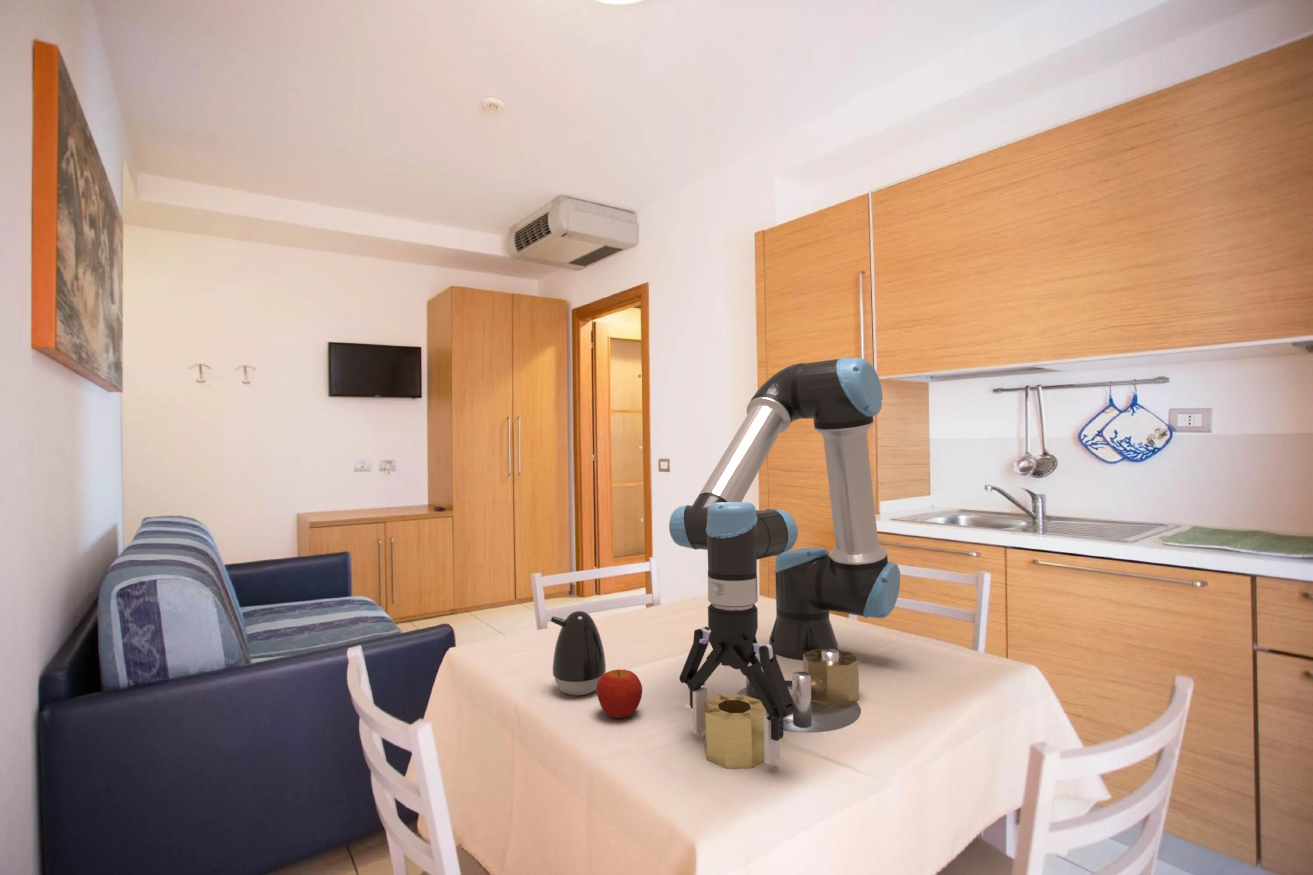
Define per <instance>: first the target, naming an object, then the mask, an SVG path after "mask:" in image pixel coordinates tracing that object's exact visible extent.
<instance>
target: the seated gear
mask: <svg viewBox="0 0 1313 875" xmlns="http://www.w3.org/2000/svg"><path fill="white" fill-rule="evenodd" d="M822 650H823V649H813V650H811V651H809V652H806V653H804V654H803V660H802V661H803V664H802V665H803V666H802V667H803V672H807V673H809V674H810V675H811V701H814V702H817V703H820V704H823V705H827V706H849V705H851V704H852V703H854V702H855V701H856V702H857V701H859V700H860V686H859V685H860V684H859V682H860V681H859V676H860V675H859V659H858V658H857V657H856V656H855V655H854V654H853V653H852V652H848V651H844V650H840V649H838V650H837V651H838V652H839V661H831V662H828V661H824V660H822ZM834 650H836V649H834Z"/></svg>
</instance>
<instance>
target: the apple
mask: <svg viewBox="0 0 1313 875" xmlns="http://www.w3.org/2000/svg"><path fill="white" fill-rule="evenodd" d="M640 680H641V679H639V677H638V675H636V673H634V672H633V671H631V670H629V669H628V670H627V669H620V668H619V669H614V670H610V671H607V672H606V671H605V673H604V674H603V675H602V677H601V678H600V679H599V681H598V683H597V687H596V688H597V689H596V696H597V700H598V702H599V705H600V707H601V709H602V710H603V713H604V714H606V715H607V716H609V717H610V718H613V719H623V718H627V717H629V716H630V715H632V714H635V712H637V709H638V708H639V705H640V703H641V700H642V696H643V685H642V683H641V681H640Z"/></svg>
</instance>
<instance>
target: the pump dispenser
mask: <svg viewBox="0 0 1313 875" xmlns="http://www.w3.org/2000/svg"><path fill="white" fill-rule="evenodd" d="M550 622H551V623H554V624H555V625H558V626H560V627H561V629H560V630H559V634H558V636H557V639H556V643H555V646H554V652H553V661H552V675H553V677H554V680H555V683H556V685H557V687H558V688H559V689H560V690H561V692H563V693H565V694H567V695H569V696H570V695H571V696H576V697H577V696H585V695H588V694H591V693H592V692H595V691H597V688H596V687H597V683H598V681H599V679H600V678H601V677H602V675H603V674H604V673H606V671H607V669H606V666H607V664H606V657H605V649H604V644H603V641H602V639H601V636H600V633H599V630H598V627H597V625H596V623H595V621H594V620H593V618H592V616H591V615H590V614H589V613H587V612H585V611H583V610H577V611H574V612H571V613H570V614H569V615H568V616H567V617H566V618H560V617H557V616H554V615H553V616H551V618H550Z"/></svg>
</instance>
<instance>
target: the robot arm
mask: <svg viewBox="0 0 1313 875" xmlns="http://www.w3.org/2000/svg"><path fill="white" fill-rule="evenodd" d="M882 400H883V390H882V385H881V380H880V377H879V375H878V373H877V370H876V369H875V367H874V366H873V364H871V363H870V361H868V360H866V359H865V358H863V357H862V358H861V357H849V358H848V357H842V358H836V359H828V360H821V361H813V362H802V363H801V362H800V363H794V364H792V365H789V366H787V367H784V368H782V369H780V370H779V371H778V372H776V373H775V374H773V375H772V376H771V377H770V378H769V379H767V380H766V381H765V382H764V383H763V384H762V385H761V386H760V387H759V388H758V390H756V392H755V394H754V395H753V396H752V398H751V399H750V401H749V403H748V404H747V406H746V416H745V419H743V422H742V424H741V425H740V426H739V428H738V429H737V432H736V433H735V435H734V436H733V438H732V440H731V441H730V443H729V444H728V447H727V448H726V450H725V451H724V452H723V455H722V456H721V458H720V459H719V461H718V463H717V465H716V466H715V468H714V469H713V471H712V473H711V474H710V476H709V477H708V479H707V480H706V482H705V484H704V486H703V488H702V489H701V490H700V492H699V494H698V496H697V497H696V499H695V500H694V502H693V504H692V505H690V504H689V505H687V504H686V505H681V506H678V507H677V508H675V509H674V511H673V512H672V513H671V516H670V518H669V522H668V523H669V524H668V530H669V535H670V537H671V539H672V541H673V542H674V543H675V544H676V545H678V546H679V547H684V548H687V549H693V550H706V551H707V601H708V602H709V603H710V604H709V606H707V622H708V623H707V626H703V627H701V628H697V629H695V630H694V631H693V642H692V645H691V647H690V650H689V653H688V655H687V658H686V661H685V663H684V665H683V667H682V670H681V673H680V675H679V677H678V678H679V682H680V683H681V684H685V685H686V686H687V688H688V690H689V707H690V709H691V710H692V734H694V735H699V734H701V733H703V732H704V702H705V701H707V700H708V687H705V685H706V682H707V681H708V679H709V678H710V677H711V675H712V674H713V673H714V672H715V671H716V669H717V668H718V667H719V666H720V665H721V666H724V667H730V668H732V669H733V670H740V672H741V674H742V675H743V676H745V678H746V677H747V678H748V680H749V682H750V683H751V685H752V687H753V689H754V690H755V692H756V694H757V696H758V697H759V699H760V701H761V703H762V704H763V706H764V708H765V709H766V711H767V713H768V715H766V716H765V717H764V761H763V762H764V764H766V765H771V764H773V763H775V762H776V761H777V760H779V759H780V751H781V750H780V749H781V748H780V740H782V739H783V737H784V731H783V730H784V729H783V718H785V717H787V716H789V715H791V714H792V713H794V712H795V711H796V708H795V705H794V702H793V700H792V697H791V695H790V692H789V690H788V687H787V684H786V682H785V681H786V679H785V678H784V674H783V672H782V669H781V667H780V664H779V662H778V658H777V656H778V657H782V658H786V659H791V660H798V661H803V654H804V653H806V652H809V651H811V650H813V649H836V650H839V643H838V640H837V637H836V635H835V632H834V631H835V630H834V628H833V625H832V623H831V619H830V612H835V613H836V612H837V613H843V614H847V615H853V616H860V617H863V618H865V619H866V618H874V619H875V618H876V619H885V618H887V617H888V616H890V614H891V613H892V612H893V610H894V609H895V606H896V603H897V600H898V598H899V593H900V588H901V587H900V586H901V570H900V568H899V565H898V564H897V563H896V562H893V561H889V559H888V558H889V557H888V551H887V550H886V548H885V547H883V546H882V545H881V544H879V537H878V528H877V519H876V509H875V508H876V507H875V498H874V490H873V479H872V470H871V463H870V462H871V460H870V450H869V442H868V430H869V429H870V428H871V427H872V425H873V424H874V423H875V422H874V417H875V416H877V415H878V414H879V413H880V412H881V410H882V406H883V402H882ZM801 419H805V420H807V419H809V420H810V419H813V426H814V430H815V431H817V432H818V433H819V434H821V436H822V438H823V439H822V440H823V447H824V456H825V463H826V464H825V465H826V473H827V482H828V492H829V498H830V499H829V502H830V510H831V517H832V527H833V532H834V533H833V534H834V543H835V546H834V547H833V548H832V549H831V550H830V551H829V550H828V549H827V548H826V547H804V548H795V549H794V548H793V547H794V545H795V544H796V543H797V540H798V536H799V534H798V533H799V531H798V530H799V529H798V525H797V521H796V520H795V519H794V517H793V516H792V515H791V514H790V513H789V512H788V511H786V510H784V509H778V508H777V509H775V508H767V509H764V510H761V509H760V510H759V509H756V506H755V505H754V504H753V503H752V502H747V501H746V502H745V501H743V500H744V498H745V497H746V495H747V493H748V491H749V489H750V487H751V486H752V484H753V482H754V480H755V478H756V477H757V474H759V471H760V470H761V467H762V466H763V464H764V463H765V460H766V459H767V457H768V456H769V453H770V451H771V449H772V448H773V446H774V445H775V442H776V441H777V439H778V437H779V435H780V434H781V433H784V432H786V431H787V430H788V429H789V427H790V425H791V423H793V422H794V421H795V422H796V421H797V420H801ZM792 548H793V549H792ZM773 556H774V557H775V556H776V557H775V566H774V567H775V568H774V569H775V570H774V574H775V577H774V578H775V606H776V610H775V612H776V614H775V615H776V618H775V621H774V624H773V627H772V630H771V633H770V635H769V636H770V637H769V641H768V643H766V644H764V643H758V640H757V636H756V635H757V631H758V629H759V628H758V626H759V623H758V622H759V621H758V618H759V617H758V614H759V613H758V607H757V606H756V605H755V604H756V603H758V600H759V599H758V575H757V574H758V568H757V567H758V564H757V563H758V560H761V559H765V558H769V557H773ZM709 644H710V646H711V648H712V650H711V651H710V653H709V654H708V655H707V657H706V660H705V661H704V663H703V664H702V665H701V663H702V661H703V658H704V656H705V653H706V652H707V648H708V646H709ZM756 653H757V654H758V655H757V657H756V655H755V654H756ZM758 659H760V662H759V660H758ZM749 663H751V664H752V666H747V665H748V664H749ZM761 666H762V669H761ZM702 686H703V687H702Z"/></svg>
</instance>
